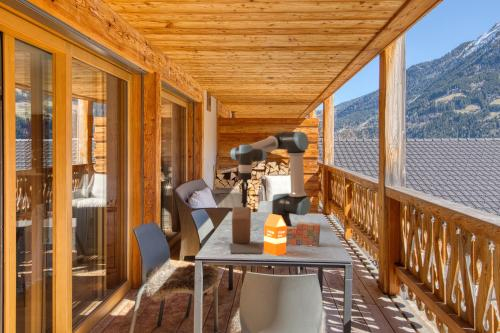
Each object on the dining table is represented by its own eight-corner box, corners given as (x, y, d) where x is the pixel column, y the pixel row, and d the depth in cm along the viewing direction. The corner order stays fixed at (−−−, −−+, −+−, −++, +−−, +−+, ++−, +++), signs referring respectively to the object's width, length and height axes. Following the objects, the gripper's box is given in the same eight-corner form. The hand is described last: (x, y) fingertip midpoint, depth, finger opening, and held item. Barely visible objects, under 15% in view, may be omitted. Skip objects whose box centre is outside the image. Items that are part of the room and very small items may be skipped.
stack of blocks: (280, 244, 248) (280, 222, 248) (282, 241, 254) (283, 220, 254) (318, 247, 243) (318, 225, 242) (319, 244, 249) (320, 223, 248)
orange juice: (274, 250, 234) (275, 212, 233) (286, 253, 227) (287, 215, 226) (263, 252, 229) (264, 214, 227) (275, 255, 222) (276, 216, 221)
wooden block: (250, 244, 244) (250, 219, 232) (232, 244, 244) (231, 219, 232) (250, 231, 252) (250, 206, 240) (233, 231, 252) (232, 205, 240)
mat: (258, 244, 244) (258, 243, 244) (261, 254, 224) (262, 252, 224) (229, 244, 243) (229, 243, 243) (230, 254, 223) (230, 252, 223)
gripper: (237, 171, 251) (236, 212, 252) (238, 173, 238) (237, 216, 239) (250, 171, 251) (249, 212, 252) (252, 173, 238) (251, 216, 239)
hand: (243, 214), depth 246 cm, fingers closed
